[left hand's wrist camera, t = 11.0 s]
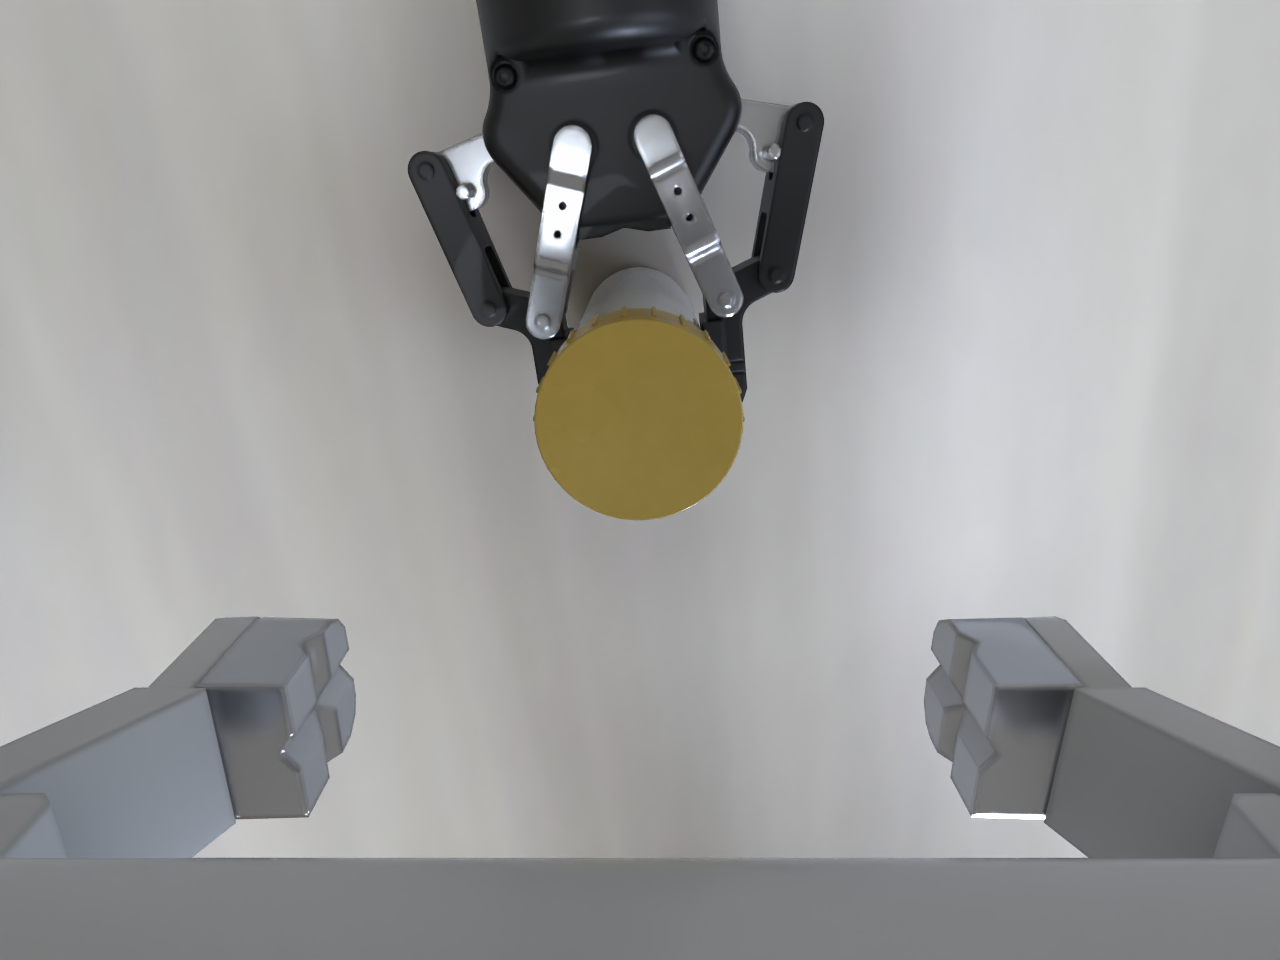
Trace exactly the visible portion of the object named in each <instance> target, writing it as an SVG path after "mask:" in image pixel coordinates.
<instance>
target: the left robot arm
mask: <svg viewBox="0 0 1280 960" xmlns="http://www.w3.org/2000/svg"><path fill="white" fill-rule="evenodd" d="M348 650H349V646H348V641H347V635H346V630H345V626H344V625H343V624H342V623H341V621H340V620H339V619H319V618H267V617H264V618H260V617H225V618H219V619H215V620H214V621H213V622H212V623H211V624H210V625H209V626H208V627H207V628H206V629H205V630H204V631H203V632H202V633H201V634H200V635H199V636H198V637H197V638H196V639H195V640H194V641H193V642H192V643H191V644H190V645H189V646H188V647H187V648H186V649H185V650H184V651H183V653H182V654H181V655H180V656H179V657H178V658H177V659H176V660H175V661H174V662H173V663H172V664H171V665H170V666H169V667H168V668H167V669H166V670H165V671H164V672H163V673H162V674H161V675H160V676H159V677H158V678H157V679H156V680H155V681H154V682H153V683H152V684H151V685H150V686H149V687H148V688H133V689H131V690H129V691H126V692H124V693H122V694H119V695H117V696H115V697H113V698H110V699H108V700H106V701H103V702H101V703H99V704H97V705H94V706H92V707H90V708H88V709H85V710H83V711H81V712H78V713H76V714H74V715H72V716H69V717H67V718H65V719H62V720H60V721H58V722H56V723H53V724H51V725H49V726H46V727H44V728H42V729H40V730H37V731H35V732H33V733H30V734H28V735H26V736H24V737H21V738H19V739H17V740H15V741H12V742H10V743H8V744H5V745H3V746H1V747H0V960H1280V747H1279V746H1277V745H1274V744H1272V743H1270V742H1267V741H1265V740H1263V739H1261V738H1258V737H1256V736H1254V735H1252V734H1249V733H1247V732H1245V731H1242V730H1240V729H1238V728H1236V727H1233V726H1231V725H1229V724H1226V723H1224V722H1222V721H1220V720H1217V719H1215V718H1213V717H1211V716H1208V715H1206V714H1204V713H1201V712H1199V711H1197V710H1195V709H1192V708H1190V707H1188V706H1186V705H1183V704H1181V703H1179V702H1176V701H1174V700H1172V699H1170V698H1167V697H1165V696H1163V695H1161V694H1158V693H1156V692H1154V691H1151V690H1149V689H1147V688H1132V687H1131V686H1130V685H1129V684H1128V683H1127V682H1126V681H1125V680H1124V679H1123V678H1122V677H1121V676H1120V675H1119V674H1118V673H1117V672H1116V671H1115V670H1114V669H1113V668H1112V667H1111V666H1110V665H1109V664H1108V663H1107V662H1106V660H1105V659H1104V658H1103V657H1102V656H1101V655H1100V654H1099V653H1098V652H1097V651H1096V650H1095V649H1094V648H1093V647H1092V646H1091V645H1090V644H1089V643H1088V642H1087V641H1086V640H1085V639H1084V638H1083V637H1082V636H1081V635H1080V634H1079V633H1078V632H1077V631H1076V630H1075V629H1074V628H1073V627H1072V626H1071V625H1070V624H1069V623H1068V622H1067V621H1066V620H1064V619H1061V618H1059V617H1056V616H1055V617H1031V618H987V619H947V620H939V621H938V623H937V625H936V628H935V630H934V633H933V640H932V646H931V650H932V652H933V653H934V655H935V657H936V658H937V660H938V662H939V663H940V665H939V666H938V667H937V668H936V669H935V670H934V672H933V673H932V674H931V675H930V676H929V677H928V678H927V679H926V688H925V697H924V707H925V719H926V725H927V728H928V732H929V735H930V738H931V740H932V743H933V745H934V747H935V749H936V751H937V752H938V753H939V754H941V755H942V756H944V757H945V758H947V759H948V760H950V761H951V762H953V764H952V771H951V777H950V778H951V779H952V781H953V783H954V785H955V787H956V789H957V791H958V793H959V794H960V796H961V798H962V800H963V802H964V804H965V806H966V808H967V809H968V811H969V813H970V815H971V817H979V818H1016V819H1045V820H1044V823H1045V824H1047V825H1048V826H1049V827H1050V828H1052V829H1053V830H1054V831H1055V832H1057V833H1058V834H1059V835H1061V836H1062V837H1063V838H1064V839H1066V840H1067V841H1068V842H1069V843H1071V844H1072V845H1073V846H1075V847H1076V848H1077V849H1078V850H1080V851H1081V852H1082V853H1083V854H1085V855H1086V856H1087V857H1088V858H192V857H193V856H194V855H196V854H197V853H198V852H199V851H201V850H202V849H203V848H204V847H206V846H207V845H208V844H210V843H211V842H212V841H213V840H215V839H216V838H217V837H218V836H220V835H221V834H222V833H224V832H225V831H226V830H227V829H229V828H230V827H231V826H232V825H234V824H235V823H236V821H235V819H263V818H299V817H309V815H310V813H311V811H312V810H313V808H314V806H315V804H316V802H317V800H318V798H319V796H320V794H321V793H322V791H323V789H324V787H325V785H326V783H327V781H328V779H329V771H328V764H327V762H329V761H330V760H332V759H333V758H335V757H336V756H338V755H339V754H341V753H342V752H343V751H344V748H345V746H346V744H347V742H348V740H349V738H350V736H351V732H352V727H353V723H354V718H355V711H356V694H355V686H354V679H353V678H352V677H351V676H350V675H349V674H348V673H347V672H346V670H345V669H344V668H343V667H342V666H341V665H340V663H341V662H342V660H343V658H344V657H345V655H346V653H347V652H348Z"/></svg>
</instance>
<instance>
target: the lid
mask: <svg viewBox="0 0 1280 960" xmlns="http://www.w3.org/2000/svg"><path fill="white" fill-rule="evenodd" d="M547 365H548V366H549V368H548V370H547V372H546V374H545V376H544V377H542V379H541V381H540V383H539V385H538V387H537V390H536V392H537V393H538V396H537V400H536V405H535V415H534V417H533V421H534V422H535V434H536V439H537V444H538V447H539V450H540V453H541V456H542V458H543V460H544V462H545V464H546V466H547V468H548V470H549V472H550V473H551V475H552V476H553V477H554V479H555V480H556V481H557V483H558V484H559V485H560V486H561V487H562V488H563V489H564V490H565V491H566V492H567V493H568V494H569V495H571V496H572V497H573V498H574V499H576V500H577V501H578V502H580V503H581V504H583V505H584V506H586V507H588V508H590V509H592V510H594V511H596V512H599V513H602V514H605V515H607V516H611V517H616V518H620V519H628V520H650V519H658V518H663V517H666V516H670V515H674V514H676V513H679V512H681V511H684V510H686V509H688V508H689V507H691V506H693V505H695V504H697V503H698V502H699V501H701V500H702V499H704V498H705V497H706V496H707V495H709V494H710V493H711V492H712V491H713V490H714V489H715V488H716V487H717V486H718V485H719V483H720V482H721V481H722V480H723V479H724V477H725V476H726V474H727V473H728V471H729V470H730V468H731V466H732V464H733V462H734V460H735V458H736V456H737V453H738V450H739V446H740V443H741V438H742V432H743V422H744V416H743V408H742V401H741V397H740V393H742V391H741V388H740V386H739V384H738V382H737V380H736V378H735V377H733V375H732V373H731V371H730V369H729V366H731V364H730V362H729V360H728V358H727V356H726V354H725V352H722V353H721V352H720V350H719V349H718V348H717V346H716V345H715V344H714V342H713V341H712V340H711V338H710V336H709V334H708V332H707V331H706V330H704V331H702V330H700V329H699V328H698V327H696V326H695V325H694V324H692V323H690V322H689V321H687V320H685V318H684V316H683V315H681V314H680V316H676V315H674V314H671V313H669V312H665V311H661V310H656V307H655V306H652V309H648V308H629V309H627V307H626V306H623V307H622V310H617V311H613V312H610V313H606V314H604V315H601V316H599V315H598V314H596V315H594V318H593V320H591V321H589V322H588V323H586V324H584V325H583V326H581V327H580V328H579V329H578V330H576V331H574V330H572V331H571V332H570V334H569V336H568V338H567V340H566V341H565V342H564V343H563V345H562V346H561V347H560V349H559V350H558V352H555V351H554V352H553V354H552V356H551V358H550V360H549V362H548V364H547Z"/></svg>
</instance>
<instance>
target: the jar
mask: <svg viewBox="0 0 1280 960" xmlns="http://www.w3.org/2000/svg"><path fill="white" fill-rule="evenodd" d="M623 306H626V307H627V309H629V308H648V309H652V306H655V307H656V310H661V311H665V312H669V313H671V314H674V315H676V316H680V314H681V315H683V316H684V318H685V320H687V321H689V322H690V323H692V324H694V325H695V326H696V327H698V328H699V329H700V327H699V324H698V322H697V319H696V317H695V315H694V312H693V310H692V307H691V305H690V302H689V300H688V298H687V296H686V294H685V292H684V291H683V289H682V288H681V287H680V285H679V284H678V283H677V282H676V281H675V280H673V279H672V278H671V277H670V276H668V275H666V274H665V273H663V272H660V271H658V270H655V269H651V268H646V267H632V268H627V269H623V270H620V271H618V272H616V273H614V274H612V275H610V276H609V277H607V278H606V279H605V280H604V281H603V282H602V283H601V284H600V285H599V286H598V287H597V288H596V290H595V291H594V293H593V294H592V296H591V298H590V301H589V303H588V305H587V308H586V310H585V313H584V315H583V317H582V320H581V322H580V324H579V327H578V329H579V328H580V327H581V326H583V325H584V324H586V323H588V322H589V321H591V320H593V318H594V315H596V314H598V315H599V316H601V315H604V314H606V313H610V312H613V311H617V310H622V307H623ZM578 329H577V330H578ZM700 330H701V329H700Z"/></svg>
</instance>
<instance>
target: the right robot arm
mask: <svg viewBox="0 0 1280 960" xmlns="http://www.w3.org/2000/svg"><path fill="white" fill-rule="evenodd" d="M476 1H477V7H478V13H479V19H480V25H481V31H482V37H483V43H484V49H485V55H486V61H487V67H488V73H489V79H490V101H489V106H488V110H487V113H486V116H485V119H484V123H483V133H482V134H480V135H477V136H475V137H473V138H470V139H468V140H466V141H463V142H461V143H459V144H457V145H454V146H452V147H450V148H447V149H445V150H443V151H440V152H437V153H435V152H428V151H421V152H418V153H416V154H415V155H414V156H413V157H412V158H411V159H410V161H409V164H408V174H409V177H410V180H411V182H412V184H413V186H414V188H415V190H416V193H417V195H418V197H419V199H420V201H421V204H422V206H423V208H424V210H425V212H426V214H427V217H428V219H429V221H430V223H431V225H432V228H433V230H434V232H435V234H436V236H437V238H438V241H439V243H440V245H441V247H442V249H443V252H444V254H445V256H446V258H447V260H448V262H449V265H450V267H451V269H452V271H453V273H454V275H455V278H456V280H457V282H458V284H459V286H460V289H461V291H462V293H463V295H464V297H465V299H466V302H467V304H468V306H469V308H470V310H471V313H472V315H473V317H474V318H475V320H476V321H477V322H478V323H480V324H481V325H483V326H487V327H493V326H500V327H504V328H509V329H513V330H516V331H519V332H521V333H522V334H524V335H525V336H526V337H527V338H528V339H529V341H530V343H531V345H532V349H533V355H534V361H535V367H536V373H537V379H538V384H539V383H540V381H541V379H542V377H544V376H545V374H546V372H547V370H548V368H549V366H548V365H547V364H548V362H549V360H550V358H551V356H552V354H553V352H554V351H555V352H558V350H559V349H560V347H561V346H562V345H563V343H564V342H565V341H566V340H567V338H568V336H569V334H570V332H571V331H572V330H574V328H567V321H566V313H567V307H568V302H569V297H570V291H571V286H572V281H573V275H574V270H575V266H576V262H577V258H578V253H579V248H580V242H581V240H582V239H590V238H598V237H603V236H605V235H608V234H610V233H612V232H615V231H617V230H619V229H622V228H630V229H637V230H644V231H653V230H661V229H669V228H671V226H672V228H673V230H674V233H675V235H676V237H677V239H678V241H679V243H680V246H681V248H682V250H683V252H684V254H685V256H686V258H687V260H688V263H689V265H690V267H691V269H692V271H693V274H694V276H695V278H696V280H697V282H698V285H699V287H700V289H701V291H702V293H703V303H704V313H699V320H700V329H701V330H702V331H704V330H706V331H707V332H708V334H709V336H710V338H711V340H712V341H713V342H714V344H715V345H716V346H717V348H718V349H719V350H720V352H721V353H722V352H725V354H726V356H727V358H728V360H729V362H730V364H731V366H729V369H730V371H731V373H732V375H733V377H735V378H736V380H737V382H738V384H739V386H740V388H741V391H742V393H740V397H741V401H742V402H743V399H744V396H745V393H746V390H747V381H746V368H745V355H744V342H743V328H742V319H743V315H744V312H745V310H746V309H747V308H748V306H749V305H750V304H752V303H753V302H755V301H756V300H758V299H760V298H762V297H764V296H766V295H768V294H770V293H772V292H773V293H779V292H782V291H784V290H786V289H787V288H788V287H789V286H790V285H791V284H792V282H793V279H794V275H795V270H796V265H797V260H798V255H799V249H800V244H801V239H802V234H803V229H804V224H805V219H806V213H807V208H808V203H809V198H810V193H811V188H812V183H813V177H814V172H815V167H816V162H817V157H818V152H819V147H820V142H821V136H822V131H823V126H824V116H823V113H822V111H821V109H820V108H819V107H818V106H817V105H815V104H814V103H811V102H802V103H798V104H795V105H793V106H786V105H779V104H772V103H765V102H758V101H751V100H745V99H741V98H740V95H739V92H738V90H737V88H736V86H735V84H734V83H733V81H732V80H731V78H730V76H729V74H728V72H727V70H726V68H725V65H724V62H723V58H722V53H721V44H720V30H719V17H718V4H717V0H476ZM735 131H737V132H739V133H741V134H742V135H744V136H745V138H746V139H747V141H748V144H749V149H750V150H749V156H750V161H751V163H752V165H753V166H754V167H755V168H756V169H757V170H759V171H761V172H766V177H765V183H764V188H763V194H762V200H761V205H760V211H759V217H758V223H757V228H756V234H755V240H754V246H753V251H752V257H751V258H750V259H748V260H746V261H744V262H742V263H740V264H738V265H736V266H735V267H733V268H731V266H730V263H729V261H728V259H727V257H726V254H725V252H724V250H723V247H722V245H721V241H720V239H719V236H718V234H717V232H716V229H715V227H714V225H713V223H712V220H711V218H710V216H709V213H708V211H707V209H706V207H705V204H704V202H703V200H702V198H701V193H702V191H703V189H704V187H705V185H706V184H707V182H708V180H709V178H710V176H711V174H712V173H713V171H714V169H715V167H716V165H717V163H718V162H719V160H720V158H721V156H722V154H723V153H724V151H725V149H726V147H727V145H728V143H729V142H730V140H731V138H732V136H733V134H734V132H735ZM495 163H496V164H497V165H498V166H499V167H500V168H501V169H502V170H503V171H504V172H505V173H506V174H507V176H508V177H509V178H510V179H511V180H512V181H513V182H514V183H515V184H516V185H517V186H518V187H519V189H520V190H521V191H522V192H523V193H524V194H525V195H526V196H527V197H528V198H529V199H530V201H531V202H532V203H533V204H534V205H535V206H536V207H537V208H538V209H539V210H540V211H541V212H542V218H541V223H540V229H539V235H538V241H537V247H536V253H535V259H534V274H533V280H532V286H531V291H530V292H528V291H524V290H519V289H515V288H512V286H511V284H510V281H509V279H508V277H507V274H506V272H505V270H504V268H503V265H502V263H501V261H500V258H499V256H498V254H497V252H496V249H495V247H494V245H493V242H492V240H491V238H490V235H489V233H488V231H487V229H486V226H485V224H484V222H483V219H482V217H481V215H480V213H479V210H478V209H480V208H482V207H483V206H484V205H485V204H486V203H487V201H488V199H489V187H488V183H487V175H488V172H489V169H490V168H491V166H492V165H493V164H495Z"/></svg>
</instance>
